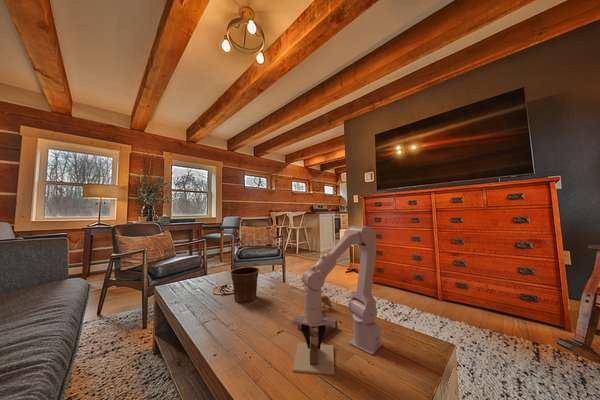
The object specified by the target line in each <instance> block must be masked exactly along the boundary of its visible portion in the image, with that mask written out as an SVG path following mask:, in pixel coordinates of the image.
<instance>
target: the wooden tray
mask: <svg viewBox="0 0 600 400" xmlns="http://www.w3.org/2000/svg"><path fill="white" fill-rule="evenodd" d="M322 317H326V318H329V316H326V315H324V314H322ZM338 327H339V326H338V320H336V319H335V328H333V327H332V326H326V331H325V334H324V336H323V338H322V340H323V339H325V338H326V337H327V336H329V335H330V334H332V333H334V332H335V331H336V330H337V329H338ZM301 328H302V325H297V330H298V331H300V332H302V331H301ZM311 337H318V326H310V338H311Z"/></svg>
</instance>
